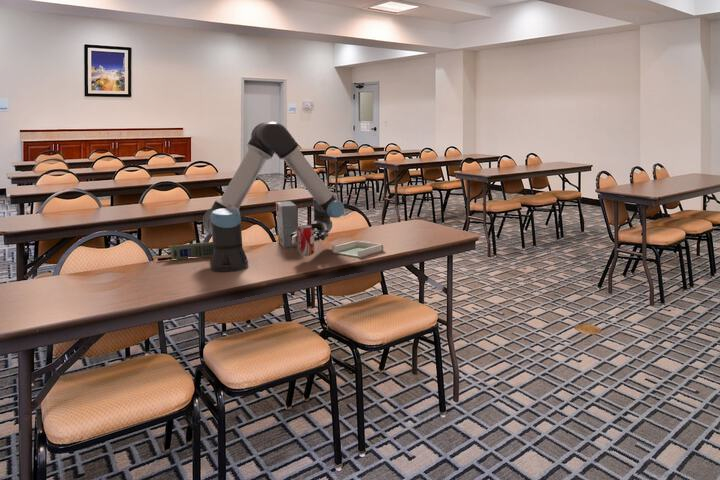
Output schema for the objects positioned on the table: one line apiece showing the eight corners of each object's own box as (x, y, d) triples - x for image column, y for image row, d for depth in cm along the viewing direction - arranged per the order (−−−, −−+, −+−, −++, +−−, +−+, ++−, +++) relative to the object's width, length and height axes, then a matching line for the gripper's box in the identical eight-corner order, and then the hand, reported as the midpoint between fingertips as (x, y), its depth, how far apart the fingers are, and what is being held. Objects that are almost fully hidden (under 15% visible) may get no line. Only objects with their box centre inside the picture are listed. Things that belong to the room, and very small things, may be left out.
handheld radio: (217, 256, 252) (158, 263, 243) (216, 255, 255) (157, 261, 246) (216, 242, 251) (156, 247, 242) (215, 241, 254) (156, 246, 245)
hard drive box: (277, 242, 279) (275, 201, 275) (293, 240, 281) (291, 200, 277) (283, 248, 264) (280, 205, 260) (299, 246, 266) (297, 204, 263)
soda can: (311, 256, 231) (310, 227, 229) (295, 256, 232) (294, 227, 230) (316, 253, 238) (315, 224, 235) (300, 252, 239) (299, 224, 237)
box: (359, 257, 240) (359, 250, 239) (332, 253, 250) (332, 246, 250) (383, 250, 252) (383, 244, 251) (356, 246, 262) (356, 240, 261)
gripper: (338, 239, 250) (326, 249, 228) (295, 238, 254) (278, 249, 232) (338, 222, 248) (325, 231, 226) (294, 221, 252) (278, 230, 230)
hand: (302, 240), depth 229 cm, fingers closed on soda can, 7 cm apart
